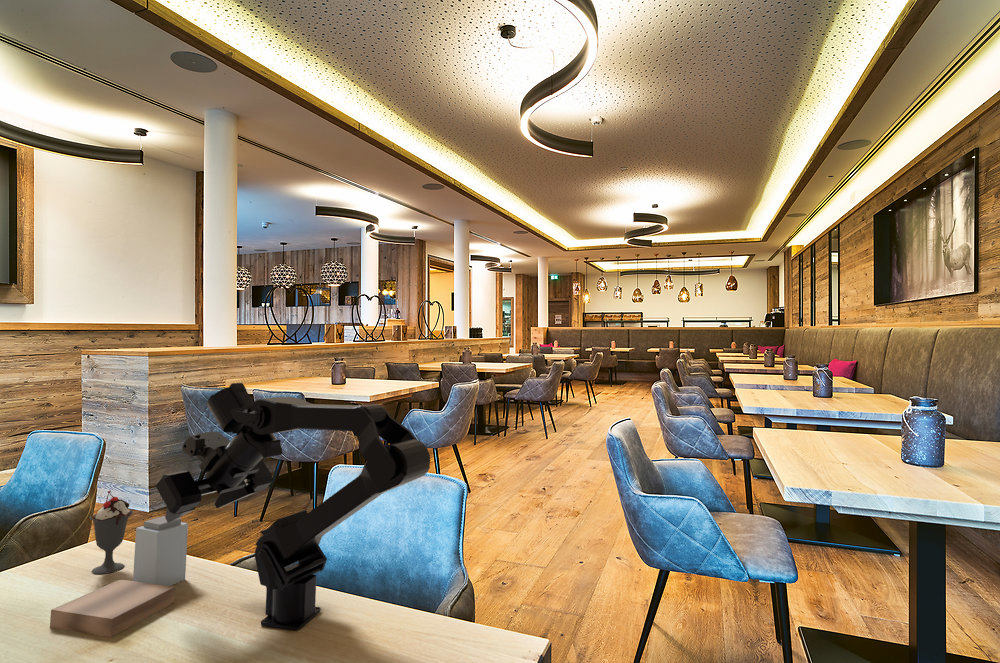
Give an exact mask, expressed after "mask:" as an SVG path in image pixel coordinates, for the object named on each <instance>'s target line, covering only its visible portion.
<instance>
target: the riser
mask: <svg viewBox="0 0 1000 663" xmlns="http://www.w3.org/2000/svg"><path fill="white" fill-rule="evenodd" d="M175 593H176V586H174V585H171V586H166V585H158V584H151V583H143V582H135V581H133V580H127V579H118V580H115V581H113V582H111V583H109V584H107V585H105V586H102V587H100V588H98V589H95V590H93V591H90V592H88V593H85V594H83V595H81V596H79V597H77V598H74V599H72V600H70V601H67V602H66V603H65V602H64V603H63V604H60V605H59V606H56V607H54V608H52V609H51V610H50V618H49V619H50V621H49V622H50V623H49V628H50V629H56V630H64V631H69V632H75V633H76V632H77V633H82V634H89V635H94V636H102V637H106V638H112V637H114V636H116V635H118V634H119V633H121V632H123V631H125V630H126V629H128V628H130V627H132V626H134V625H136V624H138V623H139V622H141V621H143V620H145V619H147V618H148V617H150V616H153V615H154V614H156V613H157V612H159V611H161V610H163V609H165V608H167V607H168V606H169V607H170V606H171V605H173V604H175V598H176V597H175V596H176V594H175ZM172 603H173V604H172Z"/></svg>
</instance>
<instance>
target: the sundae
mask: <svg viewBox="0 0 1000 663" xmlns="http://www.w3.org/2000/svg"><path fill="white" fill-rule="evenodd" d="M111 492H112V490H108V491H107V496H106V501H105V502H104V503H103V504H102V506H101V508H100V509H99V510H98V511H97V513H95V514H92V515H91V516H89V517H88V518H89V519H91V520H92V521H93V527H94V536H95V537H94V538H95V539H94V540H95V543H96V546H97V547H98V548H99V549H100V550H102V551H104V553H105V556H104V560H103V563H102V564H101V565H98V566H96V567H95V568H93V569H92V570H91V573H92V574H93V575H107V574H111V573H116V572H118V571H121V570H122V569H124V567H125V564H124V563H121V562H115V561H114V558H113V557H114V556H113V554H114V551H115V549H116V548H117V547H119V546H120V545H121V544H122V543H123V541H124V537H125V533H126V528H127V524H128V520H129V517H131V516H132V515H134V514H133V513H134V511H133V510H132V509H129V508H130V503H128V502H127V501H125V500H123V499H122V498H121V499H120V498H119V497H118V496H114V495H113V494H111ZM109 496H111V498H110V499H109ZM120 569H121V570H120ZM117 570H118V571H117ZM115 571H116V572H115Z"/></svg>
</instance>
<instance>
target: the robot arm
mask: <svg viewBox="0 0 1000 663" xmlns="http://www.w3.org/2000/svg"><path fill="white" fill-rule="evenodd" d="M206 404H207V407H208V408H209V410H210V412H211V414H212V415H213V417H214V419H215V420H216V422H217V424H218V425H219V427H220V428H221V430H222V431H223V433H227V434H228V433H232V434H235V435H234V436H233V438H231V440H229V439H228V438H227V437H225V436H224V435H223V434H221V432H218V431H207V432H206V431H205V432H201V433H200V432H199V433H196V434H193V435H190V436H188V438H186V439H185V440H184V442H183V445H182V452H183V453H185V454H186V455H187V456H188V457H189V458H193V457H194V458H196V459H198V460H199V461H200V462H201V463H200V464H199V466H198V467H199V469H200V471H201V472H203V473H204V472H205V474H204V479H198V480H194V477H193V476H192V474H191V472H190V471H189V470H179V471H174V472H169V473H164V474H162V476H160V478H159V479H158V480H157V482H156V484H155V486H154V487H155V488H156V489H157V491H158V493H159V494H160V497H161V499H162V501H163V502H164V504H165V506H166V513H165V515H164V516H165V518H166V520H167V522H168V523H169V522H171V521H174V520H176V519H178V518H181V517H183V516H185V515H187V514H189V513H192V512H193V511H195V510H196V508H197V506H199V505H200V504H201V502H202V496H204V495H205V496H206V495H208V494H209V495H210V494H213V493H217V495H219V496H218V497H217V499H216V500H215V502H214V505H215V507H216V509H219V508H223V507H226V506H228V505H229V504H232V503H235V502H237V501H239V500H241V499H244V498H247V497H249V496H252V495H253V494H256V493H259V492H260V491H263V490H266V489H267V488H268V487H269V486H270V485H271V484H272V482H273V475H272V472H271V471H270V470H269V468H268V467H267V465H266V464H265V462H264V460H263V459H268V458H269V459H270V458H273V457H279V456H282V455H283V447H282V445H281V443H282V441H281V439H277V437H276V436H275V434H278V433H284V432H285V433H286V432H290V431H297V430H314V431H315V430H316V431H317V430H318V431H319V430H320V431H334V432H336V431H337V432H353V434H354V435H355V436H356V438H357V441H358V446H359V450H360V455H361V456H362V458H363V459H364V461H365V463H364V465H363V468H362V470H361V472H360V473H359V475H358V476H356V477H355V478H354V479H352V480H351V481H350V482H348V483H346V485H344V486H343V487H341V488H340V489H339V490H338V491H336V492H335V493H334V494H332V495H331V496H329V497H328V498H327V499H325V500H324V501H323V502H321V503H320V504H318V505H317V506H316V507H314V508H313V509H312V510H311V511H307V509H304V510H303V509H302V510H300V511H299V512H298V511H297V512H295V513H292V514H288V515H286V516H283V517H281V518H278V519H276V520H275V521H273V523H272V524H271V525H270V526H269V527H268V528H265V529H262V530H260V533H261V534H262V535H261V534H260V535H261V536H259V537H258V538H257V540H256V542H255V550H254V560H255V565H256V569H257V574H258V579H259V584H260V585H261V586H264V587H265V589H266V590H265V592H266V593H265V594H266V595H265V596H266V597H265V617H263V619H262V620H260V625H261V626H264V627H272V628H278V629H285V630H292V631H298V630H300V629H301V628H303V627H304V626H305V625H306V624H307V623H308V622H310V621H311V620H312V619H313V618H314V617H316V615H317V614H319V613H320V612H322V610H321V609H322V608H321V606H316V598H317V597H316V596H317V594H316V593H317V575H316V574H317V573H319V572H323V571H324V569H325V566H326V564H327V560H328V558H327V556H326V555H325V553H324V552H323V550H322V549H321V546H320V544H321V540H322V538H323V537H324V535H326V534H328V532H330V531H332V530H333V529H335V528H336V527H337V526H338V525H340V524H342V523H343V522H344V521H346V520H348V518H350V517H351V516H353V515H354V514H356V513H357V512H358V511H360V510H361V509H363V508H364V507H366V506H367V505H368V504H370V503H371V502H373V501H375V500H376V499H377V498H378V497H380V496H381V495H382V494H384V493H386V492H389V491H391V490H394V489H396V488H398V487H401V486H403V485H404V486H405V485H406V484H408V483H411V482H412V481H415V480H418V479H420V478H422V477H424V476H426V474H427V473H428V472H429V470H430V468H431V466H430V465H431V455H430V454H431V453H430V451H429V449H428V447H427V446H426V445H425V443H424V442H422V441H420V440H418V439H417V437H416V436H415V435H414V434H413V432H412V431H411V430H410V429H409V428H407V427H406V426H405V425H403V424H401V423H400V422H399V421H398V420H396V419H395V418H393V417H392V415H391V414H390V413H389V412H388V411H387V408H385V407H383V406H382V405H380V404H377V403H374V404H365V405H360V404H359V405H358V404H356V405H355V404H325V403H324V404H323V403H322V404H320V403H319V404H316V403H311V402H308V401H306V400H305V399H302V398H298V397H294V396H290V395H289V396H280V397H279V396H278V397H263V398H256V400H254V401H253V399H252V397H251V396H250V395H249V393H248V391H247V388H246V386H245V384H244V383H243V382H232V383H231V384H230V385H229V386H228V387H226V388H223V389H220V390H219V391H217V392H216V393H214V394H212V395H210V397H209V398H208V399H207V401H206ZM380 438H382V439H383V440H384V441H385V442H387V443H388V444H385V443H384V442H383V441H382V440H381V439H380ZM295 563H296V564H295ZM290 565H291V566H290ZM288 566H289V567H288ZM286 567H287V568H286Z"/></svg>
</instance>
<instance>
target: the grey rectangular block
mask: <svg viewBox="0 0 1000 663" xmlns="http://www.w3.org/2000/svg"><path fill="white" fill-rule="evenodd" d="M165 516H166V515H163V516H159V517H155V518H152V519H148V520H145V521H143V525H141V526H138V527H136V528H135V542H134V557H133V558H134V560H133V574H132V575H133V577H132V581H135V582H143V583H151V584H158V585H166V586H174V585H176V584H178V583H180V581H181V582H183V581H185V580H186V574H187V573H186V572H187V570H186V569H187V553H188V550H187V548H188V531H189V523H188V522H184V521H183V522H182V518H181V517H179V518H178V519H176V520H174V521H171V522H169V523H168V522H167V520H166V518H165ZM173 584H174V585H173Z"/></svg>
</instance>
